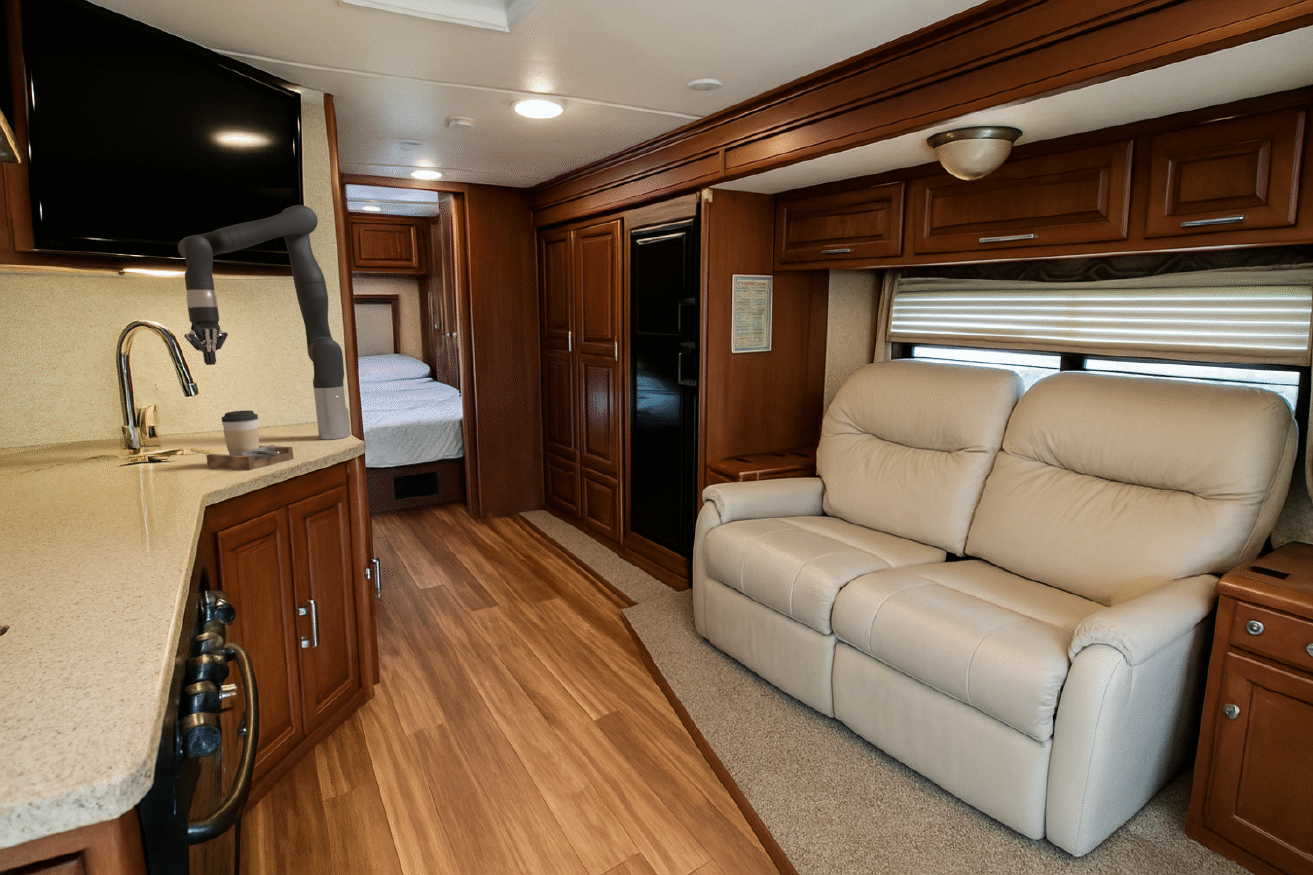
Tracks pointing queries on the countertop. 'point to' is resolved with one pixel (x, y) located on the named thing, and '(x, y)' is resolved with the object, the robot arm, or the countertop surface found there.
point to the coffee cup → (241, 431)
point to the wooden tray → (248, 460)
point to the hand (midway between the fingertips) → (210, 364)
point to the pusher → (261, 452)
